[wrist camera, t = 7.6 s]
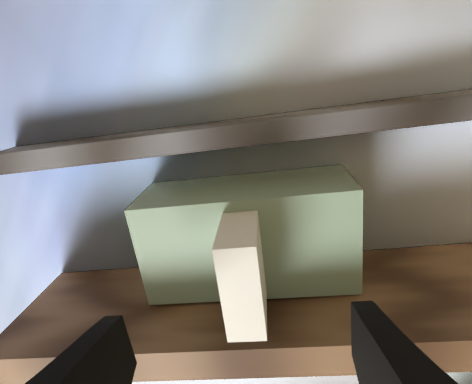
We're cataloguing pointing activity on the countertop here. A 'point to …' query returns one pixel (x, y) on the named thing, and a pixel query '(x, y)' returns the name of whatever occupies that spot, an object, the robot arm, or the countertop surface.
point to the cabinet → (249, 241)
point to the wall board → (278, 310)
